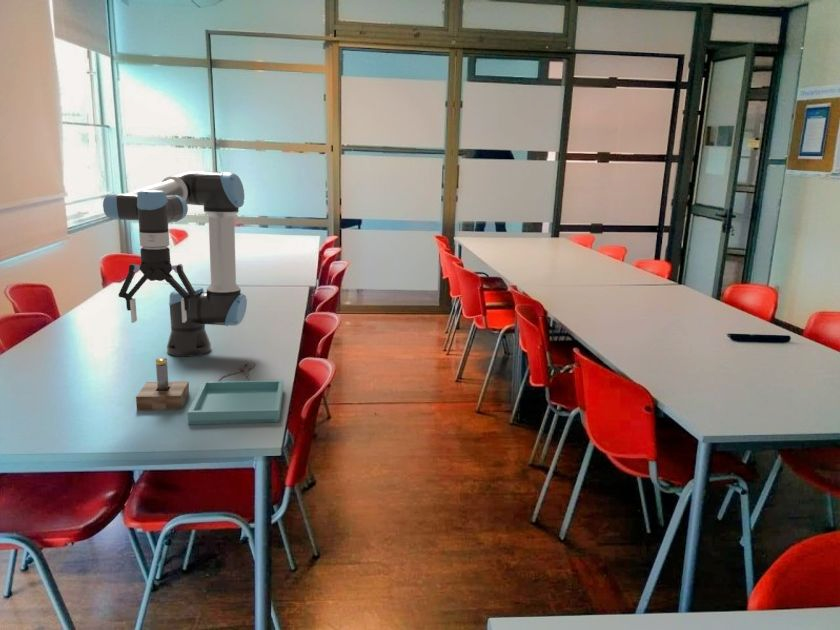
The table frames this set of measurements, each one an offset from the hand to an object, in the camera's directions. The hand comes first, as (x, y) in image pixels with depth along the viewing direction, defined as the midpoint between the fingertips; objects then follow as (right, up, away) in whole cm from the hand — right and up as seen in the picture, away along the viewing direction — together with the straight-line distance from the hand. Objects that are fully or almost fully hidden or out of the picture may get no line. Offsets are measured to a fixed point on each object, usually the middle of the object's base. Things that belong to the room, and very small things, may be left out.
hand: (159, 321), depth 183 cm
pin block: (-1, -24, +6) cm, 24 cm away
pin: (-1, -24, +6) cm, 24 cm away
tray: (+21, -25, +5) cm, 33 cm away
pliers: (+13, -18, +32) cm, 39 cm away
